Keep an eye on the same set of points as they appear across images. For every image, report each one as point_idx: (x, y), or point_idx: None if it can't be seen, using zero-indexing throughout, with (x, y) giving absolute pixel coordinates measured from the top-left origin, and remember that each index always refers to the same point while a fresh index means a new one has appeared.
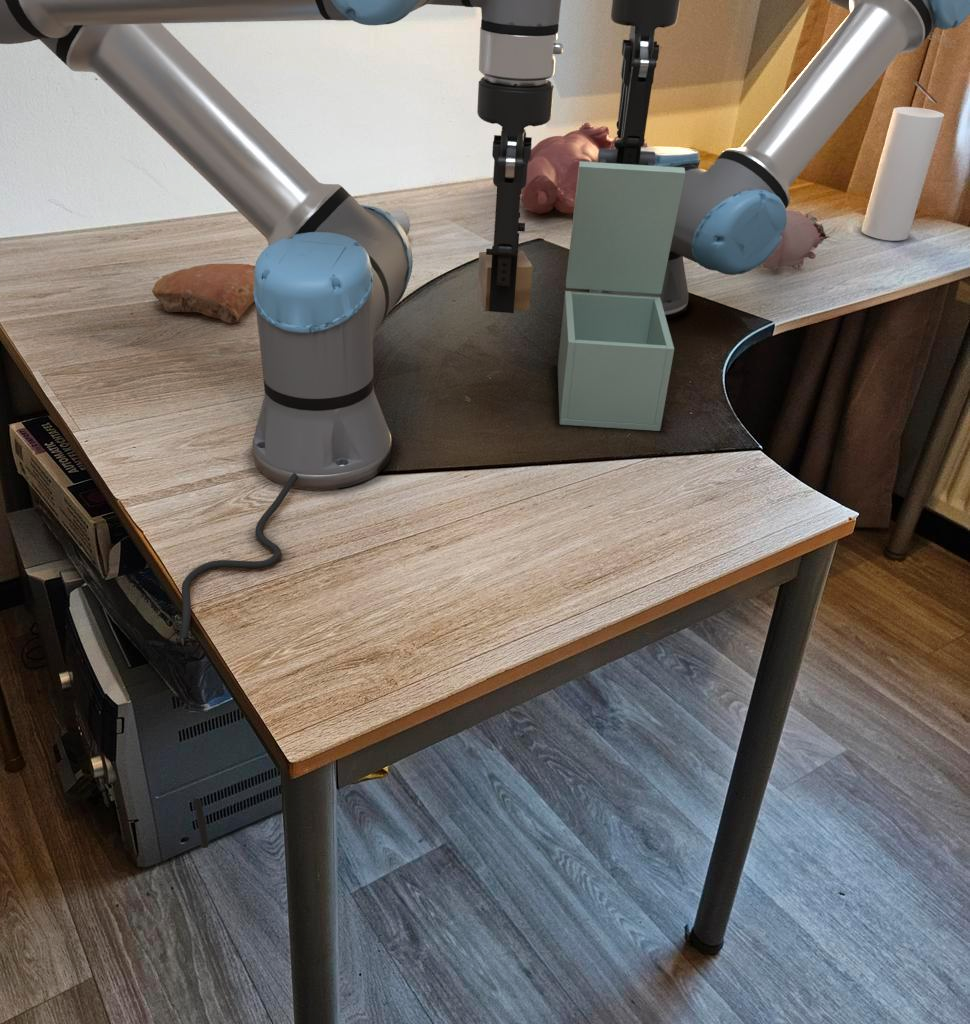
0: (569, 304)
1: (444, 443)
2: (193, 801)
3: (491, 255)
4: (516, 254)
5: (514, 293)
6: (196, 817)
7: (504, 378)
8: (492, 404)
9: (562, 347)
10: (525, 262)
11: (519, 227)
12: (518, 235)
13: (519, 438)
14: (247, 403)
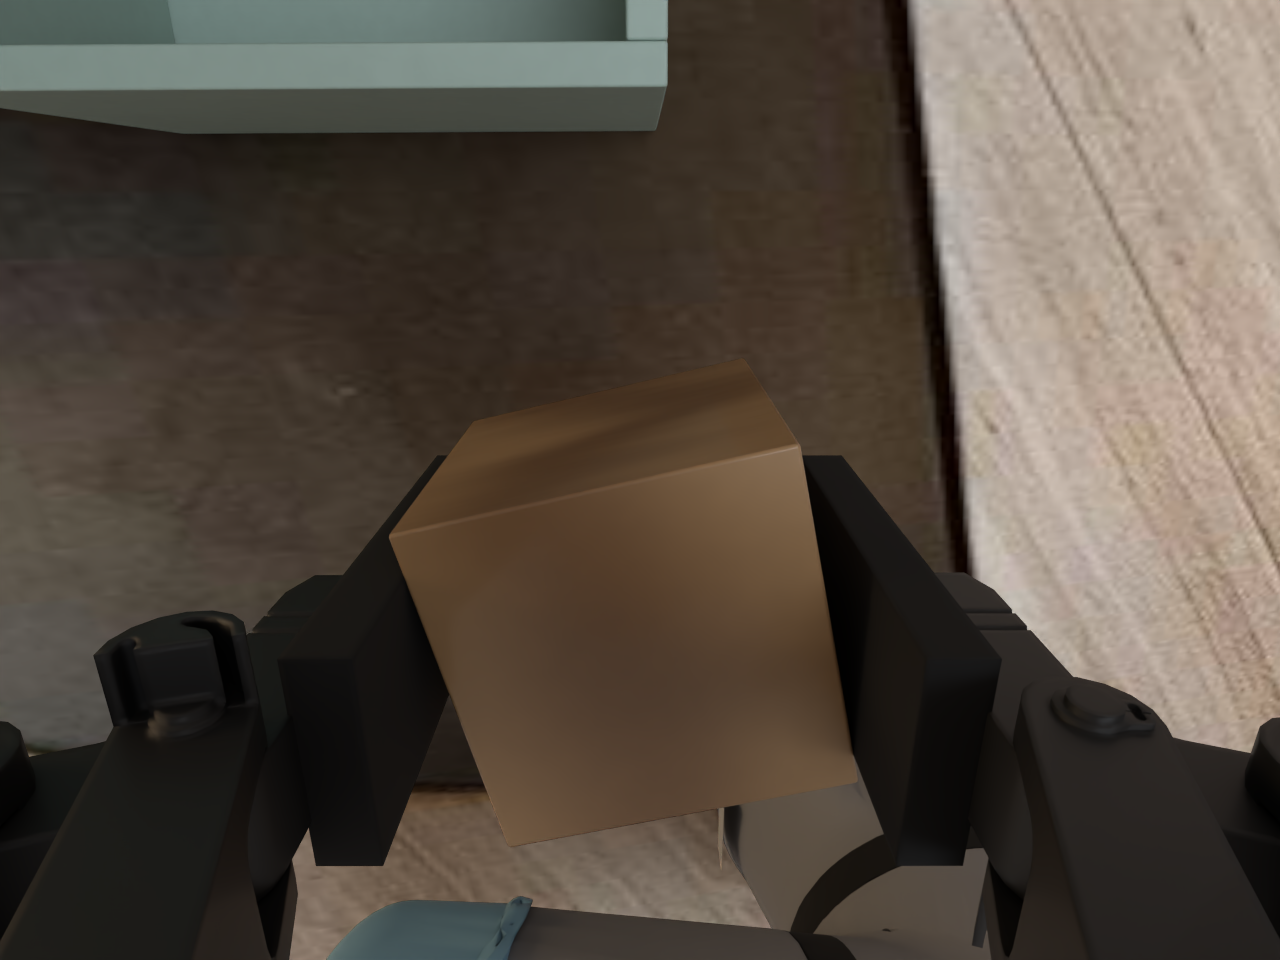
0: (105, 66)
1: None
2: None
3: (573, 768)
4: (978, 670)
5: (877, 505)
6: None
7: (335, 341)
8: (539, 374)
9: (299, 115)
10: (691, 507)
11: (222, 696)
12: (352, 665)
13: (761, 276)
14: None
